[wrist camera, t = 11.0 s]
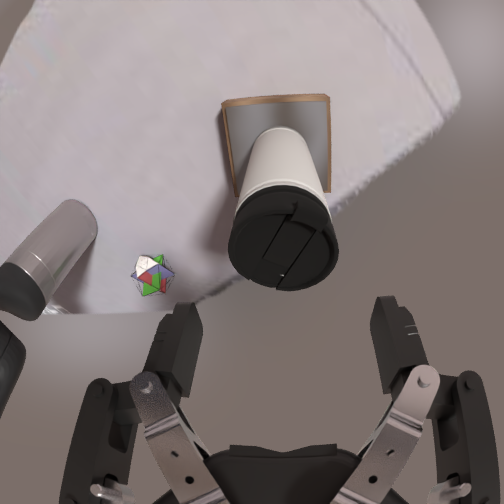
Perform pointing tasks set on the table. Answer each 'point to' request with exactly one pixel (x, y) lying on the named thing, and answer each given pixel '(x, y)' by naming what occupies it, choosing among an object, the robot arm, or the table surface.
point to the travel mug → (282, 216)
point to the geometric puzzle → (152, 274)
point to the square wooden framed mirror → (278, 114)
